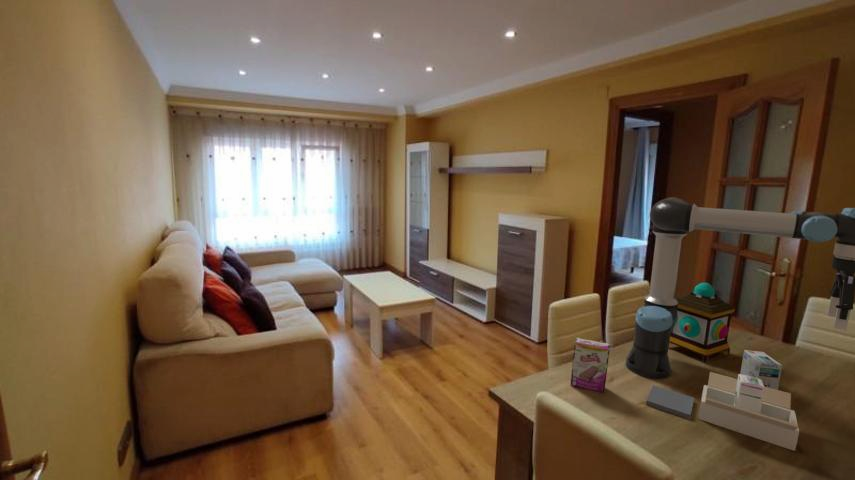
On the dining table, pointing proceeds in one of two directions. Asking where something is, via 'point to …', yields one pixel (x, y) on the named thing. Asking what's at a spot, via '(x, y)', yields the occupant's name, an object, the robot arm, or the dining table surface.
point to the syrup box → (749, 393)
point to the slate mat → (670, 401)
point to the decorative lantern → (702, 322)
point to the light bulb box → (761, 368)
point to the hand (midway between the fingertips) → (835, 322)
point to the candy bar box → (590, 364)
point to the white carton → (750, 412)
